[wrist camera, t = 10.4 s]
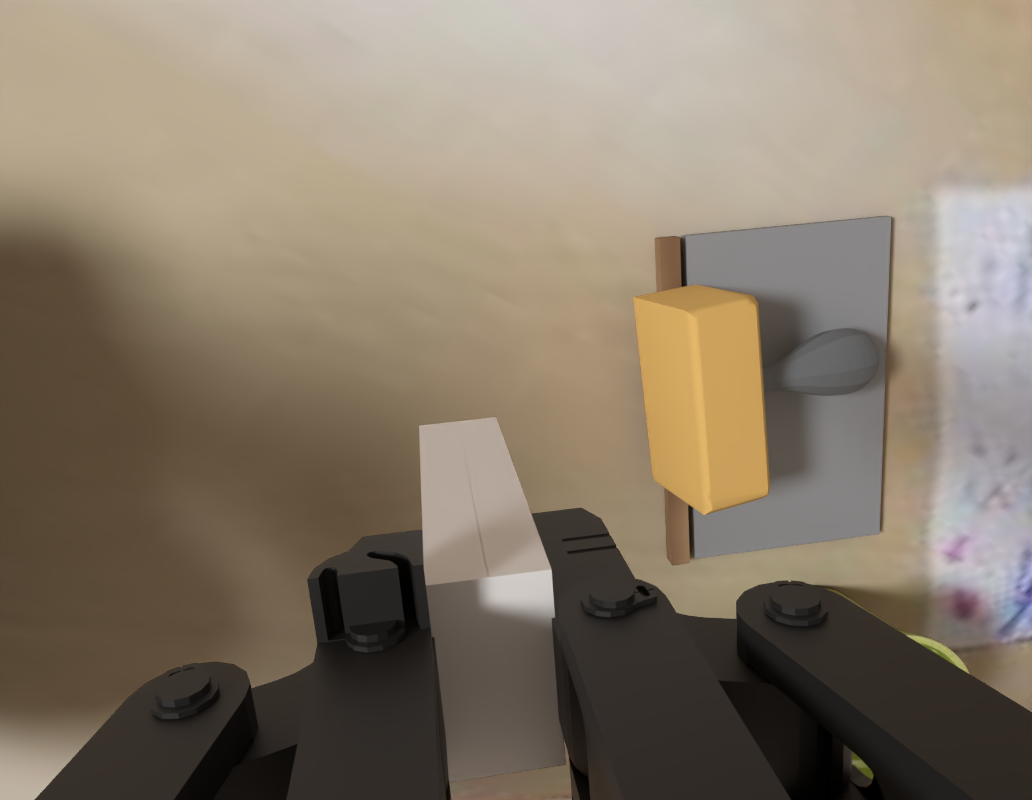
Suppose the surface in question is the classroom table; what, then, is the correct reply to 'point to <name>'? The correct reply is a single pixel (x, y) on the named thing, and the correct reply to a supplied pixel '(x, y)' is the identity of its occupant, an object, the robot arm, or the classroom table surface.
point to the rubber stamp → (726, 389)
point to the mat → (797, 416)
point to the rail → (674, 506)
